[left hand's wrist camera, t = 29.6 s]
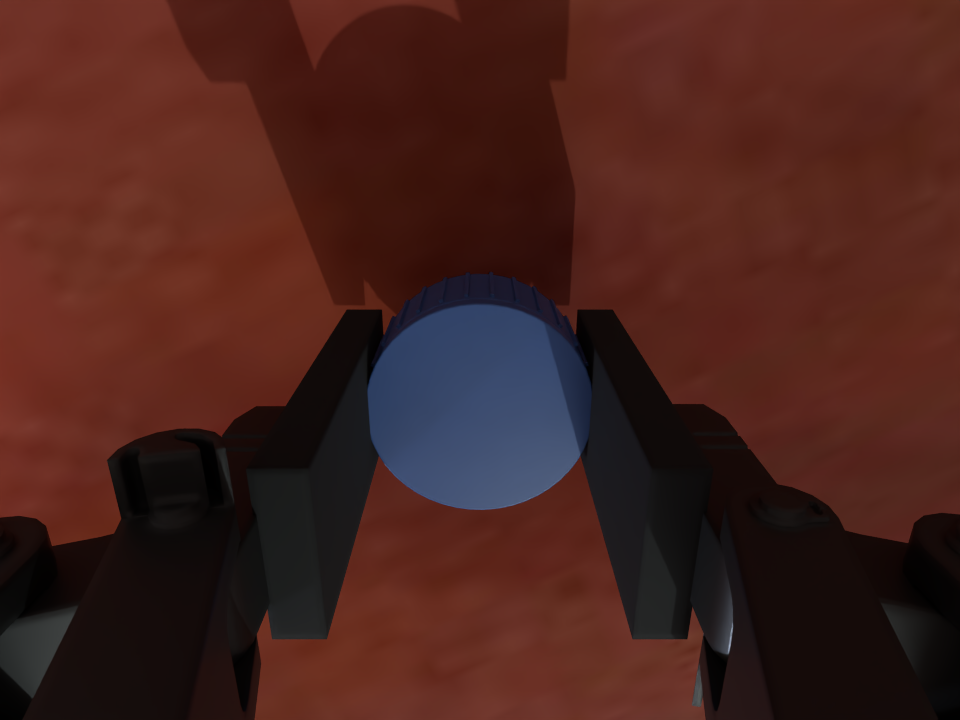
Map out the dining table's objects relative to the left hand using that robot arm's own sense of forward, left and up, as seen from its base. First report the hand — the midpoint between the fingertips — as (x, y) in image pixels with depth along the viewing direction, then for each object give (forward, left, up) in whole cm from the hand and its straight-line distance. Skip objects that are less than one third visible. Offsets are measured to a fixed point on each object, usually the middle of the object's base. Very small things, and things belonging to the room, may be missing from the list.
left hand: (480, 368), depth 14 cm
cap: (0, 0, +2) cm, 2 cm away
